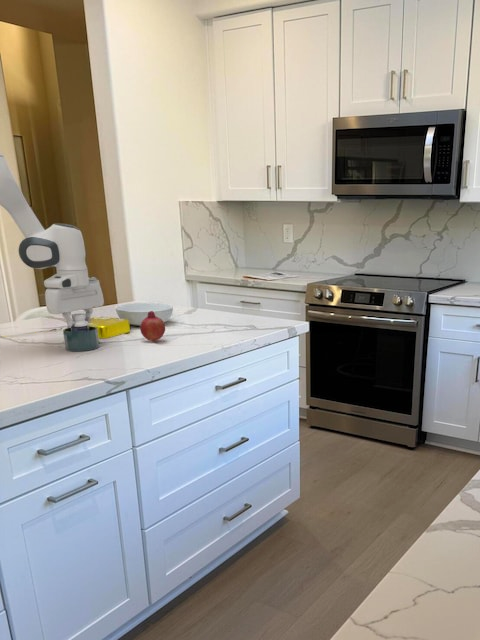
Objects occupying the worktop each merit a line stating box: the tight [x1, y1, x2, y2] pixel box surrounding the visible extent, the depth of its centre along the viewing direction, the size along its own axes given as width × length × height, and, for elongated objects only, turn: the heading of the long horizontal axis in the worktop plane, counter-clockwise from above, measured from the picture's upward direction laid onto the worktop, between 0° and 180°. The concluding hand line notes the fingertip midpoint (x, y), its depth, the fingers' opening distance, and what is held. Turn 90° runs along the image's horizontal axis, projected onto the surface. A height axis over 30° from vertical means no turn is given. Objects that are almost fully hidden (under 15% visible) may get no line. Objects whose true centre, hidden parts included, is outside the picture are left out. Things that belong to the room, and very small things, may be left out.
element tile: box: [89, 315, 131, 340], centre depth 213 cm, size 15×15×5 cm
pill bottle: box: [71, 313, 90, 332], centre depth 191 cm, size 5×5×10 cm
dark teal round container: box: [62, 326, 100, 352], centre depth 192 cm, size 10×10×6 cm
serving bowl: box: [115, 301, 174, 327], centre depth 231 cm, size 21×21×7 cm
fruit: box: [139, 311, 166, 342], centre depth 202 cm, size 8×8×10 cm
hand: (79, 324), depth 190 cm, fingers closed on pill bottle, 5 cm apart
